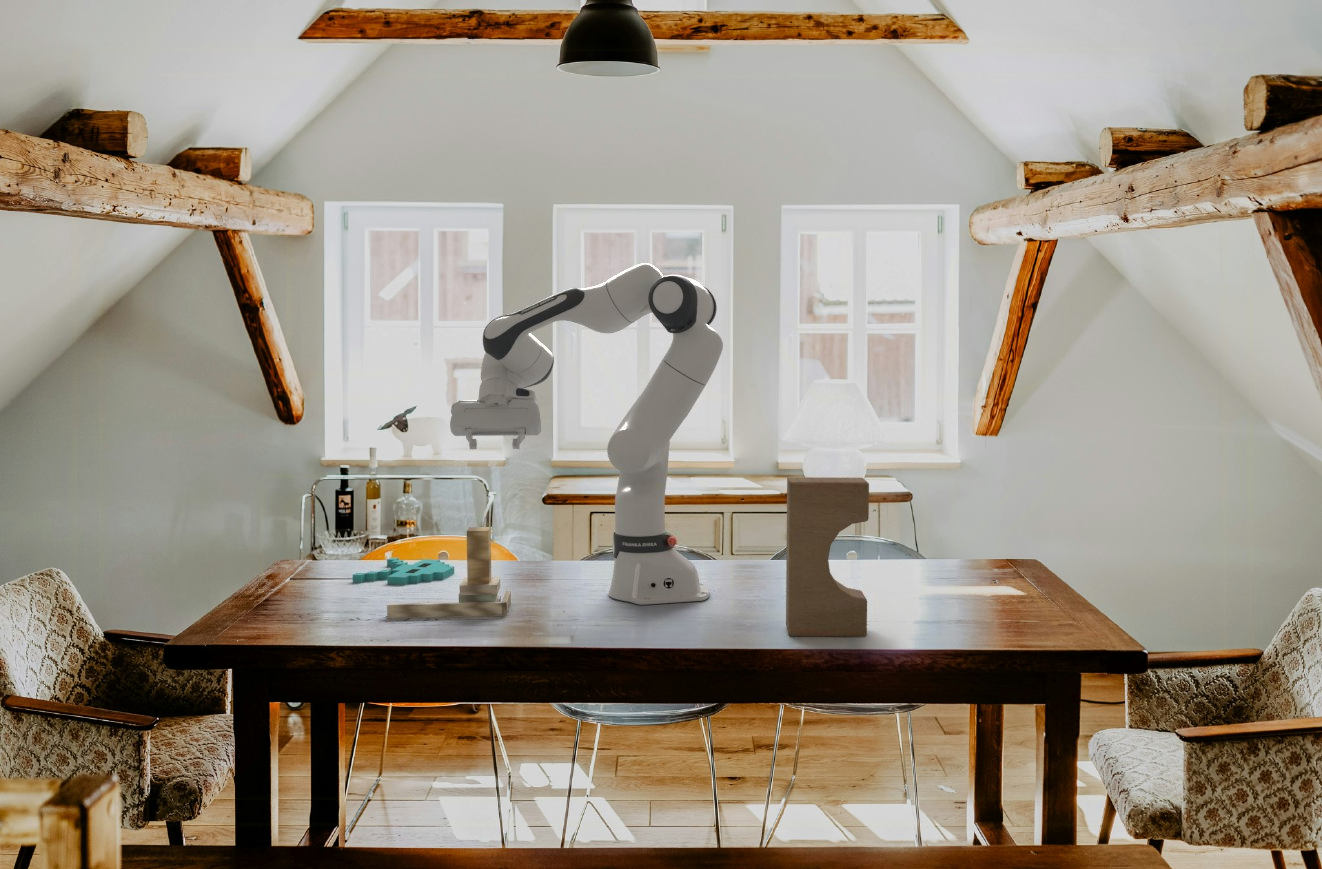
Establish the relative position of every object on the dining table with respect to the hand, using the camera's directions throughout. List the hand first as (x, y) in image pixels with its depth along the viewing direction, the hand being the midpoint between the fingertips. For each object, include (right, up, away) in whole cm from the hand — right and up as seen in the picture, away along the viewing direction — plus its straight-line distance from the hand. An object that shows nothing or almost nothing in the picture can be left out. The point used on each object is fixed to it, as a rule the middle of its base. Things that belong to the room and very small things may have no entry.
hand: (494, 447), depth 230 cm
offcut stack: (-1, -34, -13) cm, 36 cm away
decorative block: (+69, -36, -26) cm, 82 cm away
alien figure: (-24, -32, +24) cm, 47 cm away
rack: (-7, -35, -14) cm, 38 cm away
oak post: (-1, -28, -14) cm, 31 cm away
